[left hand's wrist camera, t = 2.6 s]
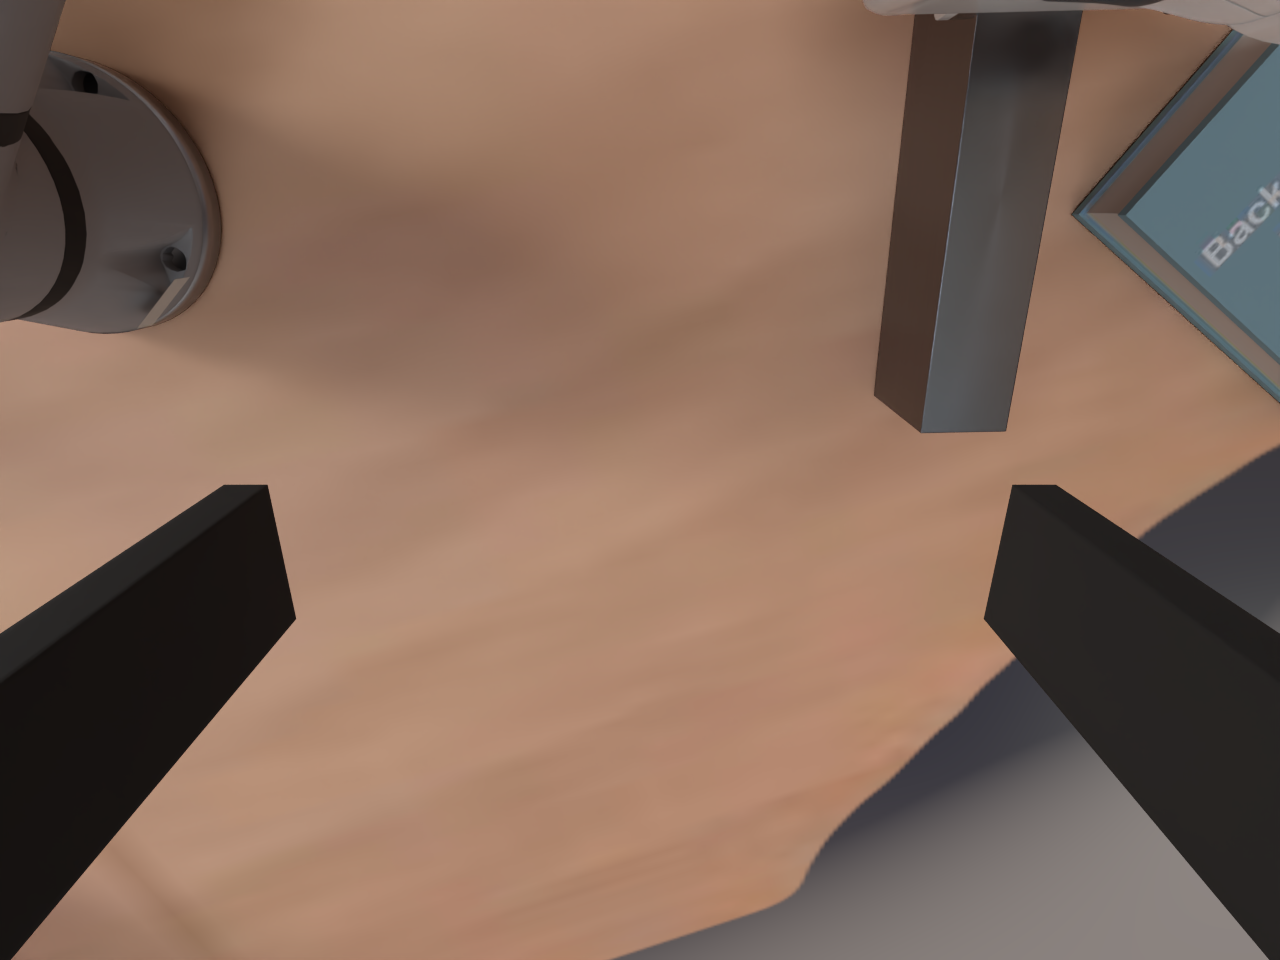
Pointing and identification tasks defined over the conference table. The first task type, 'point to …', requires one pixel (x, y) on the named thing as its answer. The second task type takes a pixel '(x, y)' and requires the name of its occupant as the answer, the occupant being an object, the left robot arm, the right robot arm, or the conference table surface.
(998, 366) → the bar
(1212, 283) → the book
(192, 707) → the left robot arm
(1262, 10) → the right robot arm
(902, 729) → the conference table surface
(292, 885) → the conference table surface
